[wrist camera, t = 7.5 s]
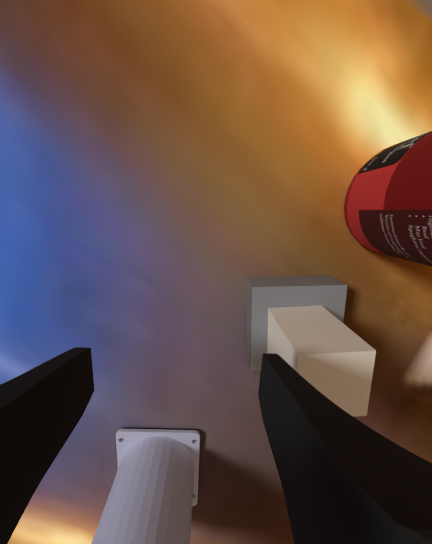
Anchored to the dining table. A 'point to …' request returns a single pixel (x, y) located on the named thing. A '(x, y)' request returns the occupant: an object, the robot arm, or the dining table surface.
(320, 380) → the cream block
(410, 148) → the canned food
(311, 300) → the grey square block
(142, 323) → the dining table surface
